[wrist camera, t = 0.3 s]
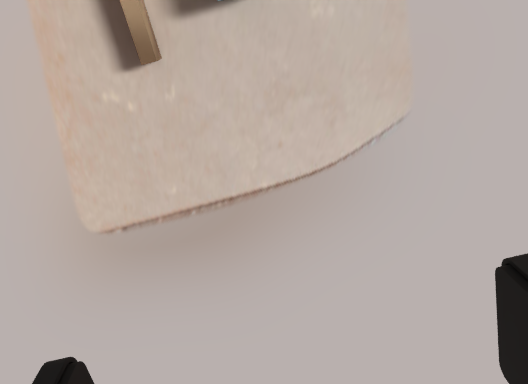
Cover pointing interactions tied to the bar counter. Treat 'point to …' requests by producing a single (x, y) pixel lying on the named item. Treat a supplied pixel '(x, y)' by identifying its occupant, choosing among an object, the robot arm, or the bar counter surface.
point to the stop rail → (141, 30)
